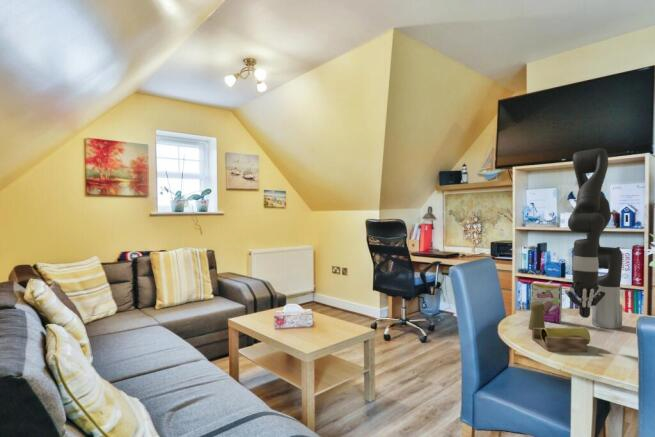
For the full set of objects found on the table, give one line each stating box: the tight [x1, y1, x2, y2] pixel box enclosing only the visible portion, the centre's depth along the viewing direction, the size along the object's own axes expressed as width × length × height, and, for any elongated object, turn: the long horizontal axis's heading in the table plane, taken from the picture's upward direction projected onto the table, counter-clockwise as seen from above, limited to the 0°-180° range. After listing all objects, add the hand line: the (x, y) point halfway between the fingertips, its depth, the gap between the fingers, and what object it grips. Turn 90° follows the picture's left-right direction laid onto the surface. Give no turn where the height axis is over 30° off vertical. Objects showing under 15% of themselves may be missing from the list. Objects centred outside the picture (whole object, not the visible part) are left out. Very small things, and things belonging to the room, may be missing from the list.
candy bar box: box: [530, 281, 563, 324], centre depth 160 cm, size 11×5×16 cm, turn 49°
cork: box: [528, 302, 546, 331], centre depth 148 cm, size 6×6×11 cm
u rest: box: [531, 328, 588, 353], centre depth 131 cm, size 13×11×4 cm
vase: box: [540, 326, 591, 345], centre depth 130 cm, size 6×6×14 cm
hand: (584, 317), depth 130 cm, fingers closed
